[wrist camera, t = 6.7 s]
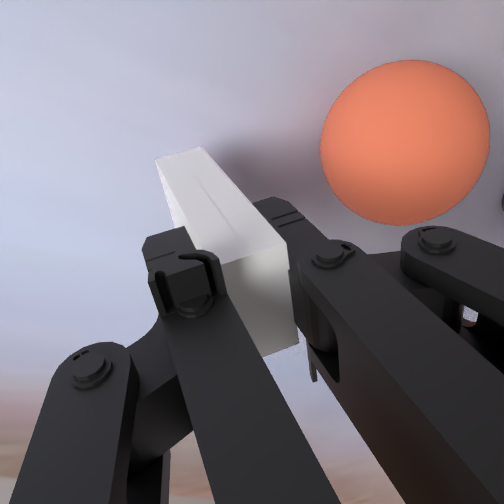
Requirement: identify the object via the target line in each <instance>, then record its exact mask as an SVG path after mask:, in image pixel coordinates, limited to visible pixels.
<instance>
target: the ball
mask: <svg viewBox="0 0 504 504" xmlns="http://www.w3.org/2000/svg"><path fill="white" fill-rule="evenodd" d="M489 147H490V126H489V121H488V117H487V113H486V110H485V107H484V105H483V103H482V101H481V99H480V97H479V96H478V94H477V93H476V91H475V90H474V89H473V87H472V86H471V85H470V84H469V83H468V82H467V81H466V80H465V79H464V78H462V77H461V76H460V75H458V74H457V73H455V72H454V71H452V70H451V69H448V68H446V67H444V66H442V65H439V64H436V63H432V62H428V61H420V60H402V61H397V62H392V63H387V64H384V65H381V66H379V67H376V68H374V69H372V70H370V71H368V72H366V73H364V74H363V75H361V76H360V77H358V78H357V79H356V80H354V81H353V82H352V83H351V84H350V85H349V86H348V87H346V88H345V90H344V91H343V92H342V93H341V94H340V96H339V97H338V98H337V99H336V101H335V102H334V104H333V106H332V107H331V109H330V111H329V113H328V116H327V118H326V120H325V123H324V126H323V130H322V135H321V144H320V154H321V163H322V167H323V171H324V174H325V177H326V179H327V182H328V184H329V185H330V187H331V189H332V191H333V192H334V194H335V195H336V196H337V197H338V198H339V200H340V201H341V202H342V203H343V204H344V205H345V206H347V207H348V208H349V209H350V210H352V211H353V212H355V213H356V214H358V215H360V216H361V217H364V218H366V219H368V220H371V221H374V222H377V223H382V224H389V225H410V224H416V223H421V222H424V221H427V220H430V219H433V218H435V217H437V216H439V215H441V214H443V213H445V212H447V211H448V210H450V209H451V208H452V207H454V206H455V205H456V204H458V203H459V202H460V201H461V200H462V199H463V198H464V197H465V196H466V195H467V194H468V193H469V192H470V190H471V189H472V188H473V186H474V185H475V183H476V182H477V180H478V179H479V177H480V175H481V173H482V171H483V169H484V166H485V163H486V160H487V157H488V153H489Z"/></svg>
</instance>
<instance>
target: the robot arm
mask: <svg viewBox="0 0 504 504" xmlns="http://www.w3.org/2000/svg"><path fill="white" fill-rule="evenodd" d="M155 161H156V164H157V168H158V171H159V175H160V178H161V182H162V185H163V189H164V192H165V196H166V199H167V203H168V206H169V210H170V213H171V216H172V220H173V223H174V227H175V229H172V230H169V231H165V232H162V233H159V234H156V235H152V236H149V237H147V238H146V240H145V243H144V245H143V247H142V252H143V256H144V259H145V262H146V266H147V269H148V272H149V274H148V284H149V287H150V290H151V293H152V295H153V298H154V301H155V304H156V307H157V309H158V312H159V315H158V318H157V321H156V323H155V324H154V326H153V327H152V329H151V330H150V331H149V332H148V333H147V334H146V335H145V336H143V337H142V338H140V339H139V340H138V341H136V342H135V343H133V344H132V345H130V346H128V347H127V348H125V347H124V346H123V345H120V344H117V343H114V342H99V343H95V344H92V345H89V346H86V347H83V348H82V349H80V350H78V351H77V352H75V353H73V354H72V355H70V356H69V357H68V358H67V359H66V360H65V361H64V362H63V363H62V364H61V365H60V366H59V367H58V368H57V370H56V372H55V374H54V375H53V377H52V379H51V382H50V385H49V388H48V391H47V394H46V397H45V400H44V402H43V405H42V408H41V411H40V414H39V417H38V420H37V423H36V426H35V429H34V432H33V435H32V438H31V441H30V443H29V446H28V449H27V452H26V455H25V458H24V461H23V464H22V467H21V470H20V473H19V476H18V479H17V481H16V484H15V488H14V490H13V493H12V497H11V499H10V502H9V504H169V480H170V457H171V453H170V448H172V447H173V446H174V445H175V444H177V443H178V442H179V441H180V440H182V439H183V438H184V437H185V436H187V435H188V434H189V433H190V432H192V431H193V430H194V433H195V436H196V440H197V443H198V447H199V450H200V453H201V457H202V460H203V464H204V467H205V470H206V474H207V477H208V480H209V484H210V487H211V491H212V494H213V497H214V501H215V504H341V502H340V501H339V499H338V497H337V495H336V493H335V491H334V489H333V488H332V486H331V484H330V482H329V480H328V478H327V477H326V475H325V473H324V471H323V469H322V467H321V465H320V464H319V462H318V460H317V458H316V456H315V454H314V453H313V451H312V449H311V447H310V445H309V443H308V441H307V440H306V438H305V436H304V434H303V432H302V430H301V429H300V427H299V425H298V423H297V421H296V419H295V417H294V416H293V414H292V412H291V410H290V408H289V406H288V405H287V403H286V401H285V399H284V397H283V395H282V393H281V392H280V390H279V388H278V386H277V384H276V382H275V381H274V379H273V377H272V375H271V373H270V371H269V369H268V368H267V366H266V364H265V362H264V360H263V358H262V357H265V356H267V355H270V354H272V353H275V352H278V351H280V350H283V349H285V348H288V347H290V346H293V345H296V344H298V343H299V338H298V331H297V326H298V328H299V329H300V331H301V332H302V333H303V335H304V336H305V338H306V343H307V352H308V360H309V369H310V376H311V379H312V382H313V383H314V382H316V381H317V372H316V369H317V370H318V372H319V373H320V375H321V376H322V378H323V379H324V381H325V382H326V384H327V385H328V387H329V388H330V390H331V391H332V393H333V394H334V396H335V397H336V399H337V400H338V402H339V403H340V405H341V406H342V408H343V409H344V411H345V412H346V414H347V416H348V417H349V419H350V420H351V422H352V423H353V425H354V426H355V428H356V429H357V431H358V432H359V434H360V435H361V437H362V438H363V440H364V441H365V443H366V444H367V446H368V447H369V449H370V450H371V452H372V453H373V455H374V456H375V458H376V459H377V461H378V462H379V464H380V465H381V467H382V468H383V470H384V471H385V473H386V474H387V476H388V478H389V479H390V481H391V482H392V484H393V485H394V487H395V488H396V490H397V491H398V493H399V494H400V496H401V497H402V499H403V500H404V502H405V503H406V504H504V248H501V247H499V246H496V245H494V244H491V243H489V242H486V241H484V240H481V239H479V238H476V237H474V236H471V235H469V234H466V233H464V232H461V231H459V230H455V229H452V228H448V227H442V226H427V227H426V226H425V227H419V228H416V229H414V230H411V231H409V232H408V233H407V234H406V235H404V236H403V238H402V242H401V251H396V252H388V253H380V254H366V253H365V252H363V251H362V250H361V249H360V248H359V247H357V246H355V245H354V244H352V243H350V242H346V241H342V240H329V239H327V238H326V237H325V236H324V235H323V234H322V233H321V232H320V231H319V230H318V229H317V228H316V227H315V226H314V225H313V224H312V223H310V222H309V221H308V220H307V219H305V217H304V216H303V215H302V214H301V213H300V212H298V210H297V209H296V208H295V207H293V206H292V205H291V204H290V203H289V202H288V201H285V200H282V199H279V198H276V197H271V198H268V199H264V200H261V201H258V202H255V203H251V202H250V201H249V200H248V199H247V198H246V197H245V195H244V194H243V193H242V192H241V191H240V190H239V189H238V187H237V186H236V185H235V184H234V183H233V182H232V181H231V179H230V178H229V177H228V176H227V175H226V174H225V173H224V172H223V170H222V169H221V168H220V167H219V166H218V165H217V164H216V162H215V161H214V160H213V159H212V158H211V157H210V156H209V154H208V153H207V152H206V151H205V150H204V149H203V148H202V147H197V148H194V149H190V150H186V151H182V152H179V153H175V154H171V155H168V156H164V157H160V158H157V159H155ZM464 305H465V306H467V307H469V308H470V309H472V310H474V311H476V312H478V318H477V322H471V321H468V320H466V319H464V318H463V312H464Z"/></svg>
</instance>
